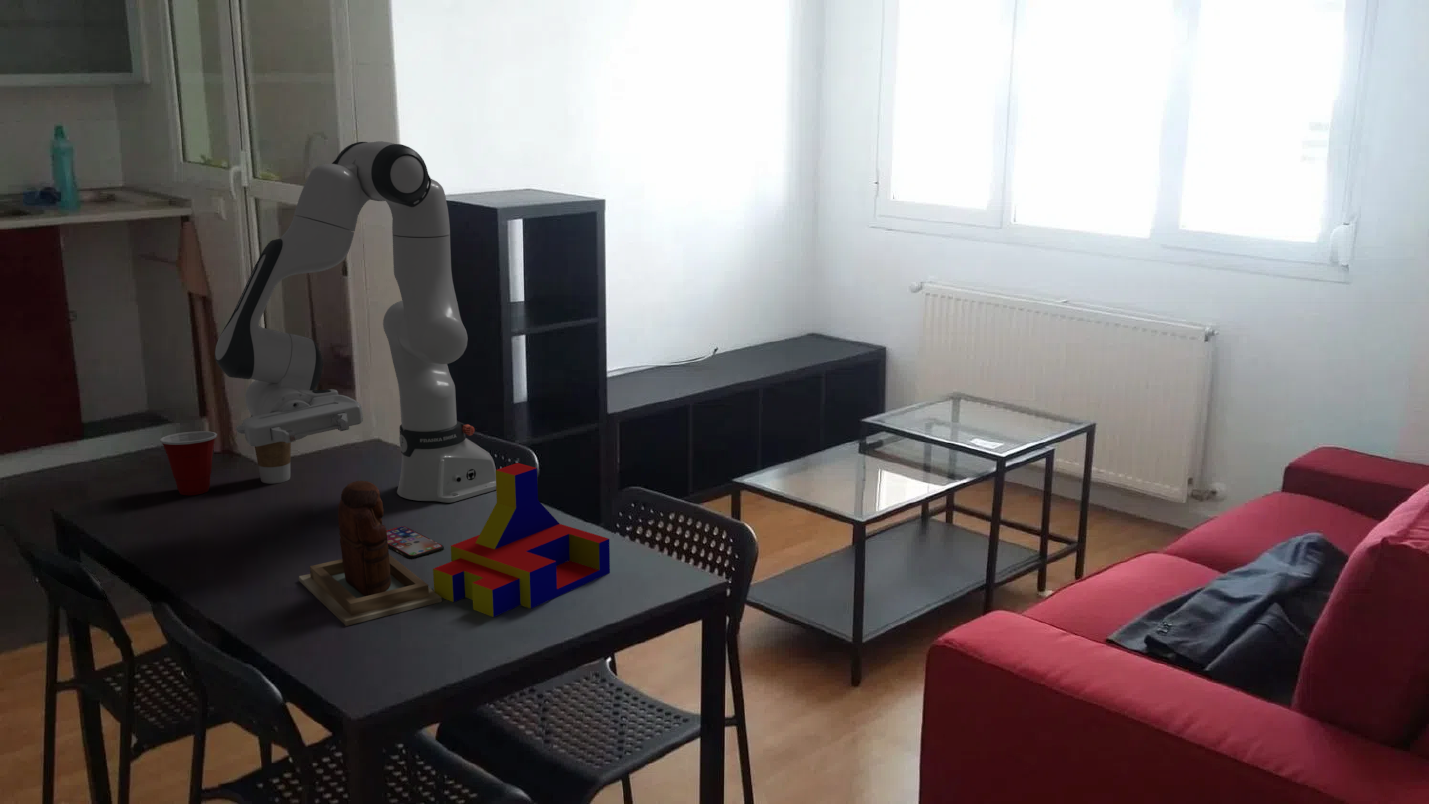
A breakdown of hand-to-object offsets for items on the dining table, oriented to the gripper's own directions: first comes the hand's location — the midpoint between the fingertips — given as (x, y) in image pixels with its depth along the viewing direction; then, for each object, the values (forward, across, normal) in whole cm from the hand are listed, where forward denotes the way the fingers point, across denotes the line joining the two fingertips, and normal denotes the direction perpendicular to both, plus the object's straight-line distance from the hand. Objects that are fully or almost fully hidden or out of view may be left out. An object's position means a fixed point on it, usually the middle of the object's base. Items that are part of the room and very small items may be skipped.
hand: (318, 432), depth 215 cm
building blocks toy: (+28, +22, +26) cm, 44 cm away
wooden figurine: (+16, 0, +23) cm, 28 cm away
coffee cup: (-51, +6, +24) cm, 57 cm away
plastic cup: (-53, -10, +23) cm, 59 cm away
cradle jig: (+17, -1, +24) cm, 29 cm away
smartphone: (0, +13, +25) cm, 28 cm away
